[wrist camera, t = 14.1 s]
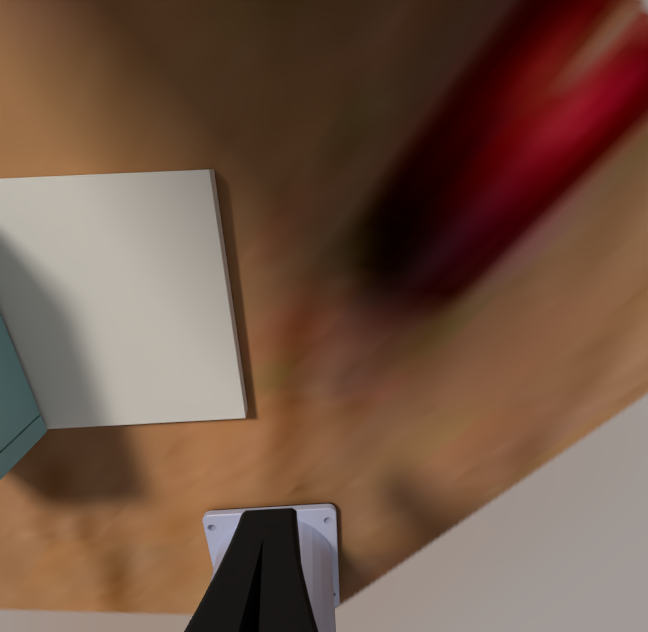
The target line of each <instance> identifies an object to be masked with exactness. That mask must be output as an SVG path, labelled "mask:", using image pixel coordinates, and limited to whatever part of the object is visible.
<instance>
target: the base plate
mask: <svg viewBox="0 0 648 632" xmlns="http://www.w3.org/2000/svg"><path fill="white" fill-rule="evenodd" d="M0 314H1V317H2V319H3V322H4V324H5V327H6V329H7V332H8V334H9V337H10V339H11V342H12V344H13V347H14V349H15V352H16V354H17V357H18V359H19V362H20V364H21V367H22V369H23V372H24V375H25V377H26V380H27V382H28V385H29V387H30V390H31V392H32V395H33V397H34V400H35V402H36V405H37V407H38V410H39V412H40V414H39V415H41V417H42V420H43V422H44V425H45V427H46V429H58V428H76V427H94V426H112V425H130V424H148V423H166V422H184V421H202V420H220V419H238V418H246V414H247V410H248V406H247V399H246V392H245V385H244V378H243V371H242V364H241V357H240V349H239V342H238V335H237V328H236V321H235V314H234V307H233V300H232V293H231V286H230V279H229V272H228V265H227V258H226V251H225V244H224V237H223V230H222V223H221V216H220V209H219V202H218V194H217V187H216V180H215V173H214V169H206V170H183V171H161V172H138V173H115V174H93V175H70V176H48V177H25V178H2V179H0ZM39 415H38V416H39Z"/></svg>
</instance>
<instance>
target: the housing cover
mask: <svg viewBox="0 0 648 632" xmlns="http://www.w3.org/2000/svg"><path fill="white" fill-rule="evenodd" d="M39 414H40V412H39V410H38V407H37V405H36V402H35V400H34V397H33V395H32V392H31V390H30V387H29V385H28V382H27V380H26V377H25V375H24V372H23V369H22V367H21V364H20V362H19V359H18V357H17V354H16V352H15V349H14V347H13V344H12V342H11V339H10V337H9V334H8V332H7V329H6V327H5V324H4V322H3V319H2V317H1V314H0V480H1V479H2V478H3V477H4V476H5V475H6V474H7V473H8V472H9V471H10V470H11V468H12V467H13V466H14V465H15V464H16V463H17V462H18V461H19V460H20V459H21V458H22V457H23V456H24V455H25V454H26V453H27V452H28V451H29V450H30V449H31V448H32V447H33V446H34V445H35V444H36V443H37V442H38V441H39V440H40V439H41V437H42V436H43V435H44V434H45V433H46V432H47V430H46V427H45V425H44V422H43V420H42V417H41V415H39ZM38 415H39V416H38Z"/></svg>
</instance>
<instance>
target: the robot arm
mask: <svg viewBox="0 0 648 632" xmlns="http://www.w3.org/2000/svg"><path fill="white" fill-rule="evenodd" d="M203 525H204V530H205V534H206V538H207V543H208V547H209V552H210V556H211V560H212V565H213V574H212V578H211V582H210V585H209V587H208V589H207V591H206V593H205V595H204V597H203V599H202V601H201V603H200V604H199V606H198V608H197V610H196V612H195V613H194V615H193V617H192V619H191V620H190V622H189V624H188V626H187V628H186V630H185V631H184V632H336V628H335V627H336V626H335V608H336V607H337V606H338V605H339V604H340V599H339V573H338V548H337V522H336V508H335V506H334V505H332V504H313V505H296V506H279V507H262V508H246V509H229V510H212V511H208V512H206V513H205V514H204V517H203Z"/></svg>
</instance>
